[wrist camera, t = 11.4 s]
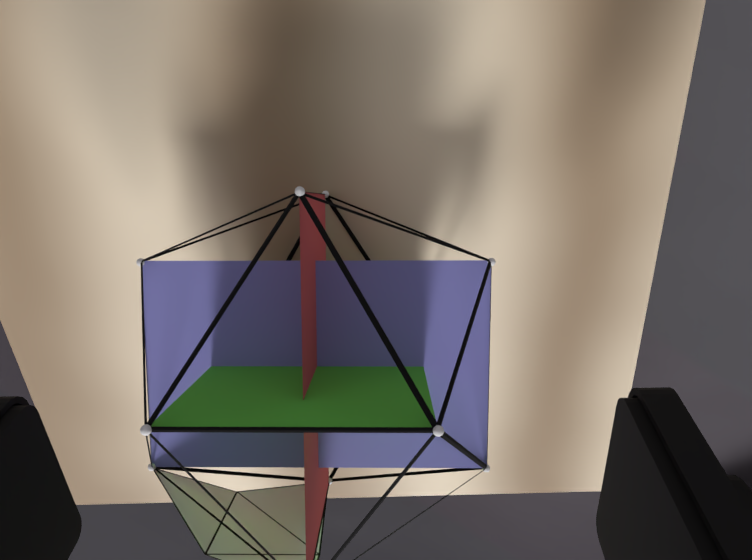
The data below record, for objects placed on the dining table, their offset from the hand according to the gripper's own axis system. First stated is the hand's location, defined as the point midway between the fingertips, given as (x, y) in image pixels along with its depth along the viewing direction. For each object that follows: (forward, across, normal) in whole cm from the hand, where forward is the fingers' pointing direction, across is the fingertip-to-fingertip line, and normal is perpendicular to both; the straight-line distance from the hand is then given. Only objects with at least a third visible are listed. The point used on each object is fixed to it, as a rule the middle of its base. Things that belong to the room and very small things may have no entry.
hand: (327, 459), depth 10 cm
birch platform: (+8, +1, 0) cm, 9 cm away
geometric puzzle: (+6, 0, 0) cm, 6 cm away
